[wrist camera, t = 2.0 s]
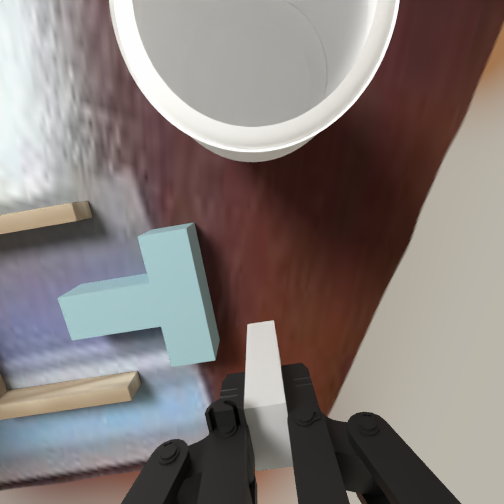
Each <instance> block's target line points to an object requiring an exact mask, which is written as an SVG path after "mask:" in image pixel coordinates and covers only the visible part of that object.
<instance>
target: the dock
mask: <svg viewBox="0 0 504 504" xmlns="http://www.w3.org/2000/svg"><path fill="white" fill-rule="evenodd" d="M88 218H92V214H91V210H90V207H89V203H88V201H83V202H74V203H68V204H62V205H56V206H51V207H45V208H39V209H34V210H28V211H22V212H16V213H11V214H5V215H0V234H4V233H10V232H16V231H22V230H27V229H33V228H39V227H45V226H51V225H56V224H62V223H68V222H74V221H79V220H83V219H88ZM140 384H141V382H140V378H139V375H138V372H137V371H134V372H127V373H120V374H114V375H107V376H100V377H94V378H87V379H80V380H74V381H67V382H60V383H54V384H47V385H40V386H33V387H27V388H20V389H13V390H7V388H6V385H5V383H4V380H3V378H2V376H1V373H0V420H2V419H9V418H16V417H23V416H29V415H36V414H43V413H50V412H57V411H64V410H71V409H77V408H84V407H91V406H98V405H105V404H112V403H119V402H126V401H132V399H133V397H134V395H135V393H136V392H137V390H138V388H139V386H140Z"/></svg>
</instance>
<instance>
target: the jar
mask: <svg viewBox="0 0 504 504" xmlns="http://www.w3.org/2000/svg"><path fill="white" fill-rule="evenodd" d="M109 4H110V12H111V18H112V23H113V27H114V32H115V35H116V39H117V42H118V45H119V48H120V51H121V53H122V56H123V58H124V61H125V63H126V65H127V67H128V69H129V71H130V73H131V75H132V77H133V79H134V80H135V82H136V84H137V85H138V87H139V88H140V90H141V91H142V93H143V94H144V95H145V97H146V98H147V99H148V100H149V102H150V103H151V104H152V105H153V106H154V107H155V108H156V110H157V111H158V112H159V113H160V114H161V115H162V116H164V117H165V118H166V119H167V120H168V121H169V122H170V123H172V124H173V125H174V126H176V127H177V128H178V129H180V130H181V131H183V132H184V133H186V134H188V135H189V136H191V137H192V138H193V139H194V140H196V141H197V142H198V143H199V144H201V145H202V146H204V147H205V148H207V149H208V150H210V151H212V152H214V153H216V154H218V155H220V156H222V157H225V158H228V159H232V160H236V161H242V162H262V161H269V160H273V159H276V158H280V157H282V156H285V155H287V154H289V153H291V152H293V151H295V150H297V149H298V148H300V147H302V146H303V145H304V144H306V143H307V142H308V141H310V140H311V139H312V138H313V137H314V136H315V135H317V134H318V133H319V132H321V131H322V130H324V129H325V128H327V127H328V126H330V125H331V124H332V123H334V122H335V121H336V120H337V119H338V118H340V117H341V116H342V115H343V114H344V113H345V112H346V111H347V110H348V109H349V108H350V107H351V106H352V105H353V104H354V103H355V101H356V100H357V99H358V98H359V97H360V95H361V94H362V93H363V91H364V90H365V89H366V87H367V86H368V84H369V83H370V81H371V80H372V78H373V76H374V75H375V73H376V71H377V69H378V67H379V65H380V63H381V61H382V59H383V57H384V55H385V52H386V50H387V47H388V45H389V42H390V39H391V36H392V33H393V29H394V26H395V22H396V17H397V13H398V7H399V0H109Z"/></svg>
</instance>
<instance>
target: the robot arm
mask: <svg viewBox="0 0 504 504" xmlns="http://www.w3.org/2000/svg"><path fill="white" fill-rule="evenodd" d="M205 416H206V421H207V425H208V429H209V435H208V436H207V437H206V438H204V439H203V440H201V441H199V442H197V443H194V444H192V445H190V446H188V445H187V444H186V443H185V442H184V441H183V440H180V439H173V440H169V441H167V442H164V443H163V444H161V445H160V446H159V447H157V449H156V450H155V451H154V452H153V453H152V455H151V456H150V458H149V460H148V461H147V463H146V464H145V466H144V468H143V469H142V471H141V473H140V474H139V476H138V477H137V479H136V481H135V482H134V484H133V486H132V487H131V489H130V490H129V492H128V493H127V495H126V497H125V498H124V500H123V501H122V503H121V504H257V483H256V478H255V467H256V471H260V470H268V469H276V468H283V467H291V466H293V467H294V475H295V482H296V489H297V496H298V504H350V503H349V500H348V496H347V493H346V490H347V491H352V492H356V494H357V497H358V498H359V500H360V502H361V503H362V504H461V503H460V502H459V501H458V500H457V499H456V498H455V496H454V495H453V494H452V493H451V492H450V491H449V490H448V489H447V488H446V486H445V485H444V484H443V483H442V482H441V481H440V480H439V479H438V478H437V477H436V476H435V474H433V472H432V471H431V470H430V469H429V468H428V467H427V466H426V465H425V463H424V462H423V461H422V460H421V459H420V458H419V457H418V456H417V455H416V454H415V453H414V451H413V450H412V449H411V448H410V447H409V446H408V445H407V444H406V443H405V442H404V441H403V439H402V438H401V437H400V436H399V435H398V434H397V433H396V432H395V431H394V430H393V429H392V427H391V426H390V425H389V424H388V423H387V422H386V421H385V420H384V419H383V418H381V417H380V416H379V415H376V414H373V413H369V412H360V413H356V414H355V415H353V416H351V417H350V419H349V420H348V422H341V421H336V420H332V419H330V418H328V417H327V416H325V415H324V414H323V413H322V412H321V410H320V408H319V405H318V402H317V398H316V395H315V391H314V388H313V384H312V381H311V378H310V374H309V371H308V368H307V367H305V366H304V365H303V364H302V363H297V364H290V365H283V366H281V361H280V355H279V349H278V343H277V337H276V331H275V325H274V320H273V321H266V322H260V323H253V324H248V326H247V348H246V370H245V372H241V373H234V374H228V375H227V376H226V378H225V379H224V381H223V382H222V388H221V395H220V399H219V400H217V401H215V402H213V403H212V404H211V405H210V406H209V407H208V408H207V410H206V412H205Z"/></svg>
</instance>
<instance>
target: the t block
mask: <svg viewBox="0 0 504 504" xmlns="http://www.w3.org/2000/svg"><path fill="white" fill-rule="evenodd" d="M138 240H139V244H140V248H141V252H142V256H143V260H144V263H145V267H146V271H147V274H141V275H134V276H128V277H122V278H116V279H110V280H104V281H98V282H92V283H86V284H80V285H79V286H77V287H75V288H74V289H72V290H70V291H69V292H67V293H65V294H64V295H62V296H60V297H59V298H58V301H59V304H60V307H61V310H62V312H63V315H64V318H65V321H66V324H67V327H68V330H69V333H70V336H71V339H72V340H78V339H84V338H91V337H97V336H103V335H110V334H116V333H123V332H129V331H136V330H142V329H148V328H155V327H161V329H162V332H163V336H164V340H165V344H166V348H167V351H168V355H169V359H170V363H171V367H175V366H181V365H188V364H195V363H201V362H208V361H214V360H216V355H217V350H218V346H219V341H220V339H219V335H218V330H217V326H216V321H215V316H214V312H213V307H212V302H211V298H210V293H209V288H208V284H207V279H206V274H205V270H204V265H203V260H202V256H201V251H200V246H199V242H198V237H197V232H196V228H195V223H188V224H183V225H177V226H171V227H165V228H159V229H153V230H150V231H148V232H146V233H144V234H142V235H140V236H138Z"/></svg>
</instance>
